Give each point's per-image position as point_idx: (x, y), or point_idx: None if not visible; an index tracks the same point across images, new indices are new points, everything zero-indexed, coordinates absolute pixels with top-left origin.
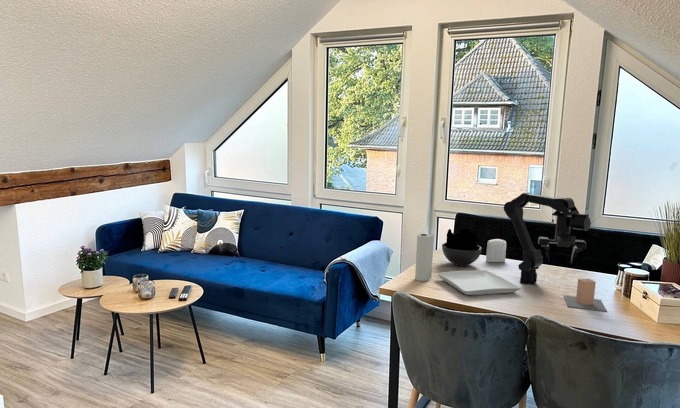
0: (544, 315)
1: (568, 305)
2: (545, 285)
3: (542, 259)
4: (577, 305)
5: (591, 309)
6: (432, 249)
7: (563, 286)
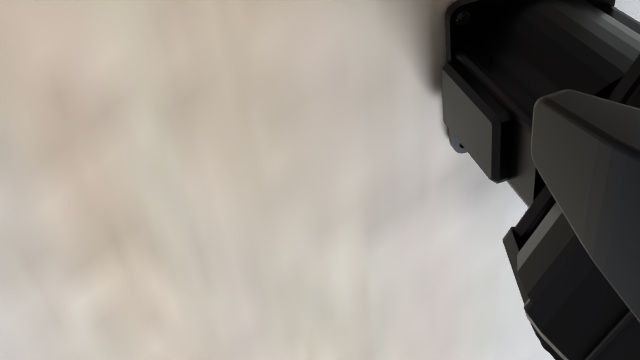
0: None
1: None
2: (329, 74)
3: (560, 340)
4: None
5: None
6: None
7: (135, 174)
